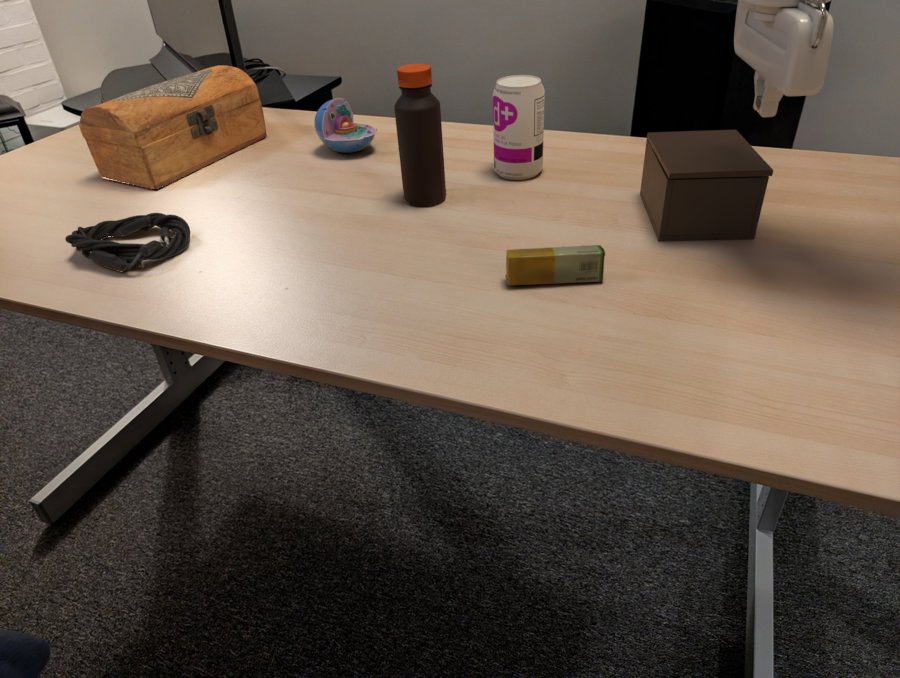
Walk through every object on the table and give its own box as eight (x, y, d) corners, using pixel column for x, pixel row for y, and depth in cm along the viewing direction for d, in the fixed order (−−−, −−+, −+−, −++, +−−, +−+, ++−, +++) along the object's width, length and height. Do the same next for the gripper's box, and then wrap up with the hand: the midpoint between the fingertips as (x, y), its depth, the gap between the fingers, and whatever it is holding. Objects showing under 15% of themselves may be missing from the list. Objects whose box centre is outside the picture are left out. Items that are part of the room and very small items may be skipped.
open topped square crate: (754, 239, 88) (769, 177, 82) (658, 241, 89) (667, 179, 84) (723, 191, 100) (735, 135, 95) (639, 193, 101) (646, 138, 96)
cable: (54, 259, 95) (42, 232, 92) (131, 219, 105) (122, 193, 102) (135, 281, 88) (124, 253, 85) (210, 236, 98) (202, 210, 95)
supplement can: (511, 185, 107) (511, 91, 98) (485, 170, 113) (483, 80, 104) (552, 173, 110) (555, 81, 101) (524, 159, 116) (525, 71, 107)
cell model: (360, 163, 119) (353, 110, 113) (308, 156, 124) (298, 104, 118) (389, 145, 126) (383, 94, 120) (339, 138, 131) (331, 89, 125)
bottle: (395, 199, 105) (380, 69, 93) (428, 186, 108) (417, 59, 97) (422, 211, 101) (409, 76, 89) (455, 197, 104) (447, 66, 92)
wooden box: (157, 193, 113) (130, 112, 105) (97, 179, 120) (67, 102, 112) (275, 137, 133) (259, 66, 125) (218, 128, 141) (199, 60, 132)
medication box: (599, 273, 83) (601, 243, 81) (604, 282, 81) (607, 252, 79) (505, 277, 83) (505, 248, 81) (507, 286, 81) (507, 256, 79)
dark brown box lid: (772, 176, 81) (773, 170, 81) (669, 179, 83) (669, 172, 82) (735, 134, 95) (736, 129, 94) (646, 137, 96) (647, 132, 96)
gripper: (864, -5, 60) (826, 142, 69) (789, -33, 77) (765, 88, 85) (793, 1, 61) (763, 145, 69) (733, -29, 78) (715, 91, 86)
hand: (763, 113), depth 77 cm, fingers closed
